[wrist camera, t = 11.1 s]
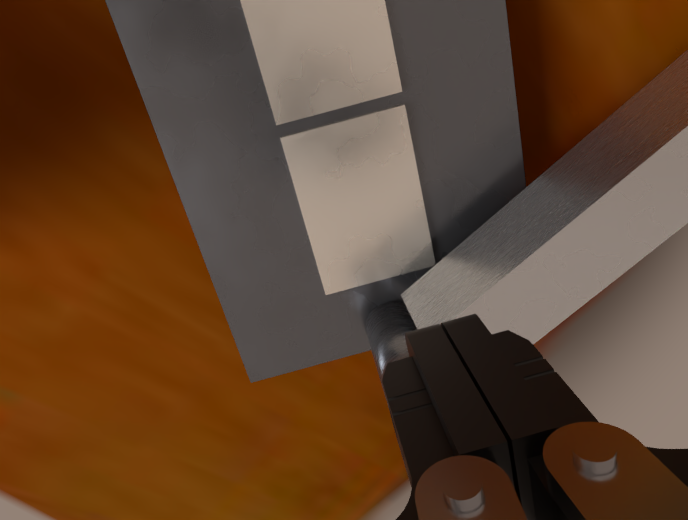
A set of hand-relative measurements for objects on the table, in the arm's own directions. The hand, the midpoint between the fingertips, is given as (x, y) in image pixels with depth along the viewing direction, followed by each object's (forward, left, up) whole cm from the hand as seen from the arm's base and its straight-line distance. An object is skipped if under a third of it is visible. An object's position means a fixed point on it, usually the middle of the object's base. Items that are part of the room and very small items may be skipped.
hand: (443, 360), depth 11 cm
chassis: (-2, 0, -15) cm, 15 cm away
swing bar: (+1, +10, -11) cm, 15 cm away
